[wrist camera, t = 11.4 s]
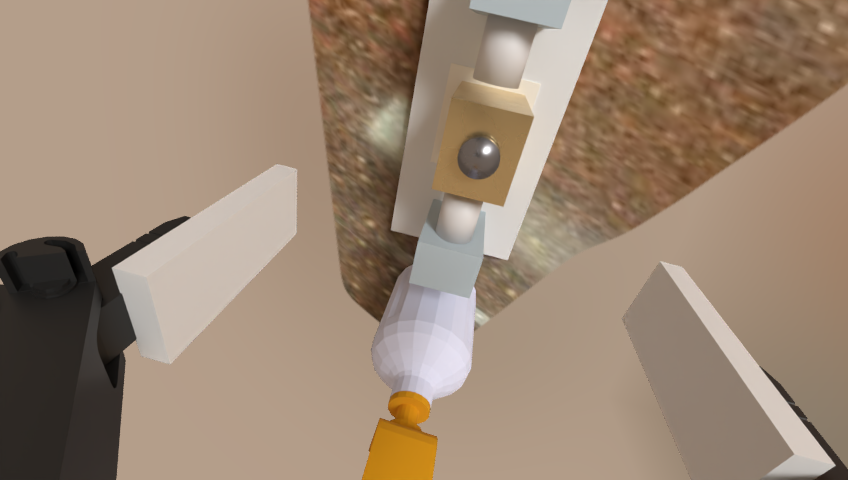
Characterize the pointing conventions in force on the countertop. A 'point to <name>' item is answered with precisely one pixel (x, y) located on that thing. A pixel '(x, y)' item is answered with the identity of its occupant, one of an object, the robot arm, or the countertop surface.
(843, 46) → the countertop surface
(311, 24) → the countertop surface
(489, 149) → the block
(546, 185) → the countertop surface
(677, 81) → the countertop surface
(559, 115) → the shaft rig
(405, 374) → the soap bottle
